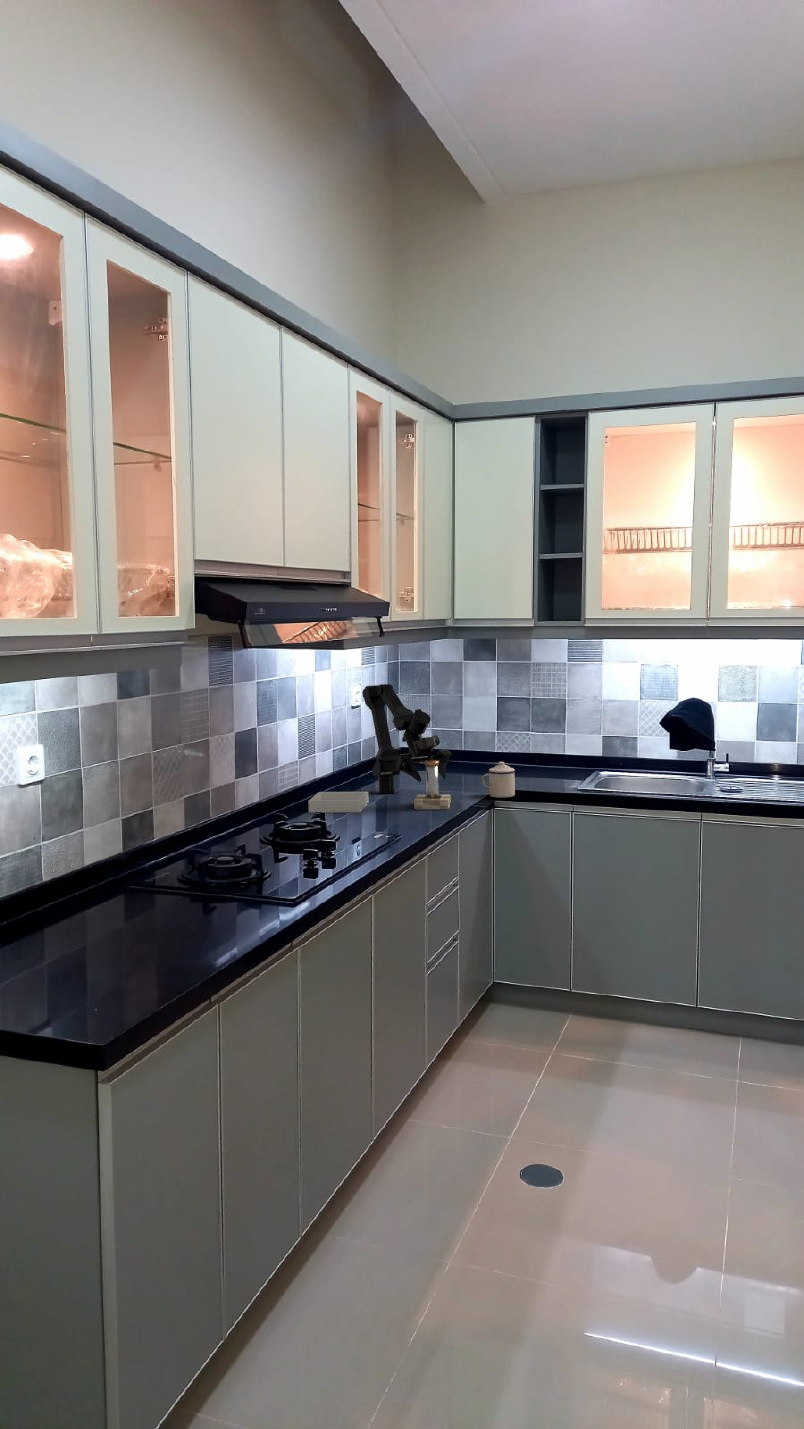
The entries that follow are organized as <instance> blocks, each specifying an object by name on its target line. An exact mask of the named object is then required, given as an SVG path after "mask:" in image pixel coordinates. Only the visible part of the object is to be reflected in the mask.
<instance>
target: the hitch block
mask: <svg viewBox="0 0 804 1429" xmlns="http://www.w3.org/2000/svg"><path fill="white" fill-rule="evenodd" d="M413 801H414V802H413V804H414V806H413V807H414V808H413V809H416V811H417V810H449V808H450V807H451V806H450V805H451V804H450V803H451V794H449V793H444V794H439V799H427V798H426V794H417V795H416V796H415V798H414V800H413Z"/></svg>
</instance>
